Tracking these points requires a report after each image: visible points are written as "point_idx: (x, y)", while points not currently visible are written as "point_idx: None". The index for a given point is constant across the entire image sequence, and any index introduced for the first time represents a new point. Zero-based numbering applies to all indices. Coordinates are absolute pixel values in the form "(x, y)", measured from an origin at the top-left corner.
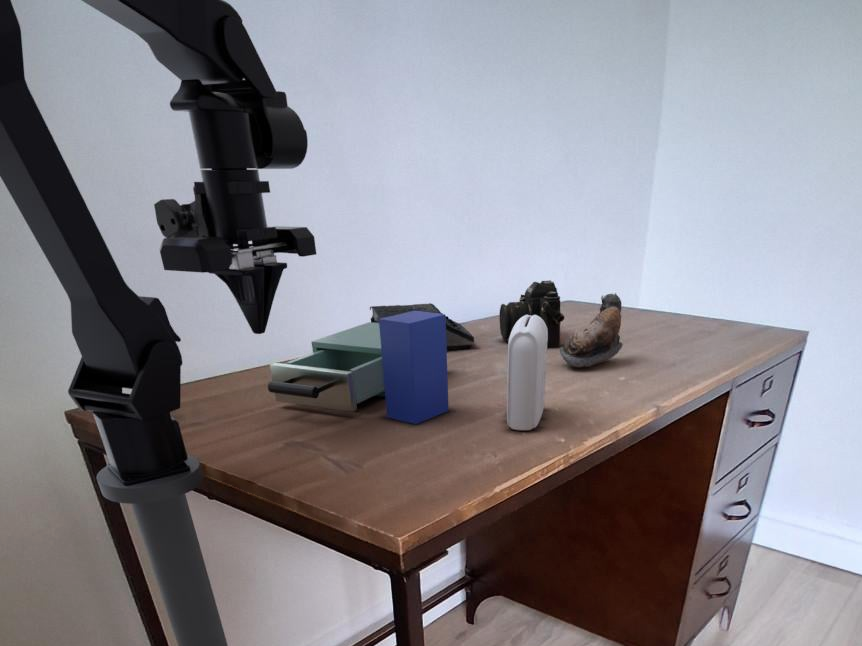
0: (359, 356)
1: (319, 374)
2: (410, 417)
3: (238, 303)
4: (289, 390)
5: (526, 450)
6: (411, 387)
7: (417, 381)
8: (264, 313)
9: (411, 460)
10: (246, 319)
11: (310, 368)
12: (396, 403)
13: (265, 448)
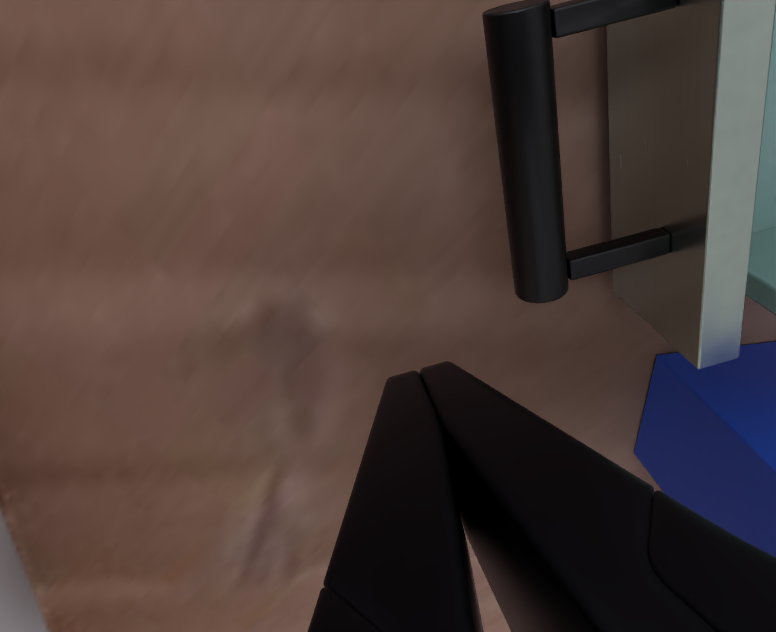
0: None
1: (695, 213)
2: (646, 449)
3: (329, 587)
4: (503, 170)
5: None
6: None
7: None
8: (494, 591)
9: None
10: (364, 451)
11: (731, 145)
12: (677, 429)
13: (184, 297)
